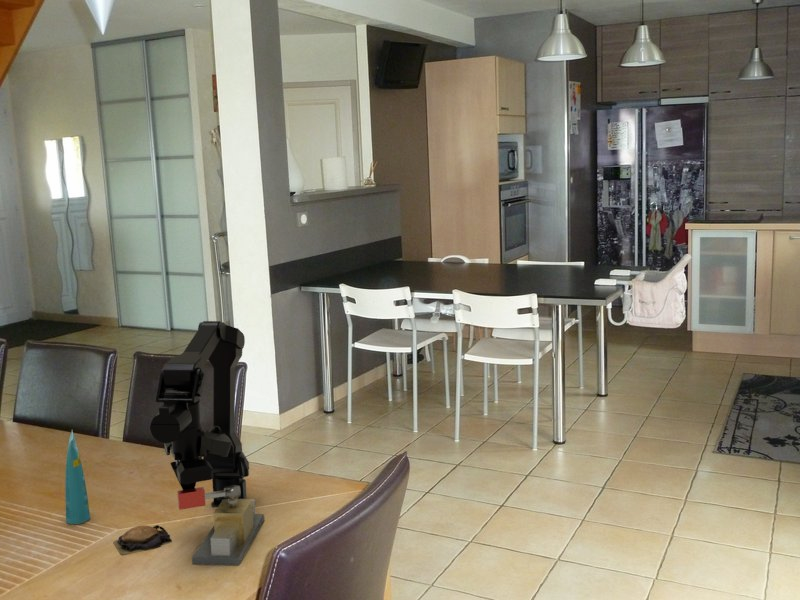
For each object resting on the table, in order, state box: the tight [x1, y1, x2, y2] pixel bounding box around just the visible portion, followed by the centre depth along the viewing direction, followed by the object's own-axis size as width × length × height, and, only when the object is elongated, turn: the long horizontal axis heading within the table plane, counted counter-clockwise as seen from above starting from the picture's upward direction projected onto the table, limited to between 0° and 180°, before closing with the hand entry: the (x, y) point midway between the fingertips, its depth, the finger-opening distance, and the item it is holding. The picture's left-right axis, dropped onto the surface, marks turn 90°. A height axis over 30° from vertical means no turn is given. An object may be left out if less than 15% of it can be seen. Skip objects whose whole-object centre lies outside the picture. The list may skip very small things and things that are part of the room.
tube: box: [64, 430, 91, 525], centre depth 176 cm, size 7×5×19 cm, turn 26°
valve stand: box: [191, 498, 265, 566], centre depth 165 cm, size 9×20×9 cm, turn 175°
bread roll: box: [112, 524, 173, 556], centre depth 166 cm, size 11×8×4 cm
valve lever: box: [176, 485, 241, 511], centre depth 162 cm, size 12×3×3 cm, turn 111°
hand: (189, 498), depth 163 cm, fingers closed
